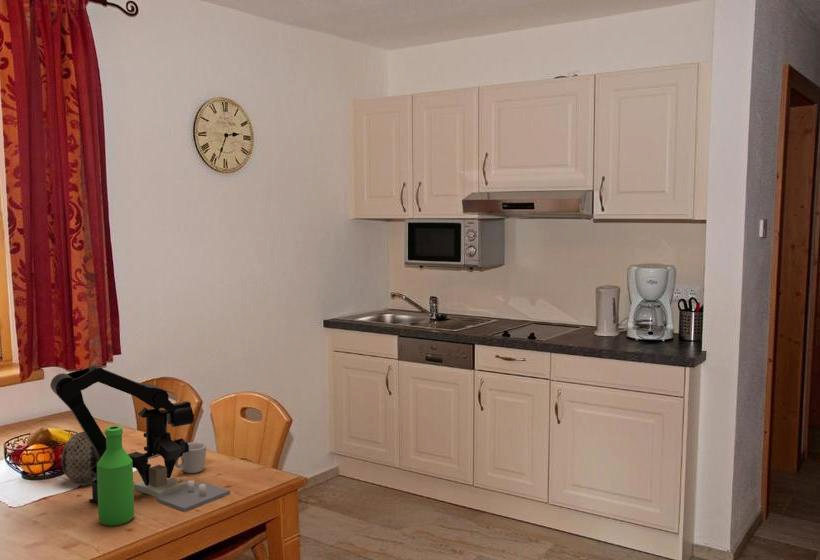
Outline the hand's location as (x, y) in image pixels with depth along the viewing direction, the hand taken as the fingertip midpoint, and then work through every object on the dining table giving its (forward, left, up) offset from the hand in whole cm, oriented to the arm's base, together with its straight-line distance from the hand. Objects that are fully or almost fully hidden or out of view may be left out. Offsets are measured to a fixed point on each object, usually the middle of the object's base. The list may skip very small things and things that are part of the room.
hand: (158, 481), depth 222 cm
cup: (+15, +4, -3) cm, 16 cm away
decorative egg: (-9, +23, -2) cm, 25 cm away
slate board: (+2, -14, -2) cm, 14 cm away
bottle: (-20, -10, -2) cm, 22 cm away
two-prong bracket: (+1, 0, -2) cm, 3 cm away
